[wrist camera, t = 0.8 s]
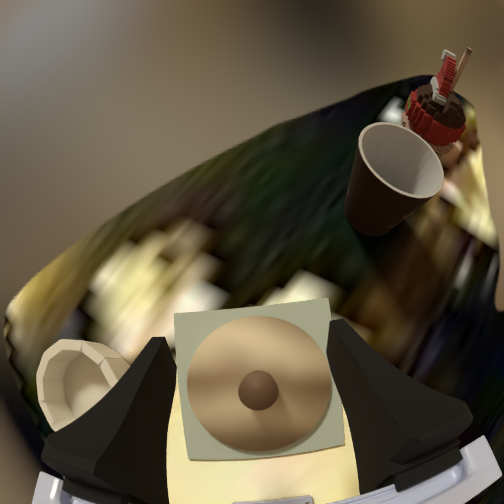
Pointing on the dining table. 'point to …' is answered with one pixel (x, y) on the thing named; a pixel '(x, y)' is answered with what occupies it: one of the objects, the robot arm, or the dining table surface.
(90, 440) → the robot arm
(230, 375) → the lid
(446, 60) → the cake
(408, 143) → the coffee mug
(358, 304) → the dining table surface
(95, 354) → the bowl
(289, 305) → the mat
